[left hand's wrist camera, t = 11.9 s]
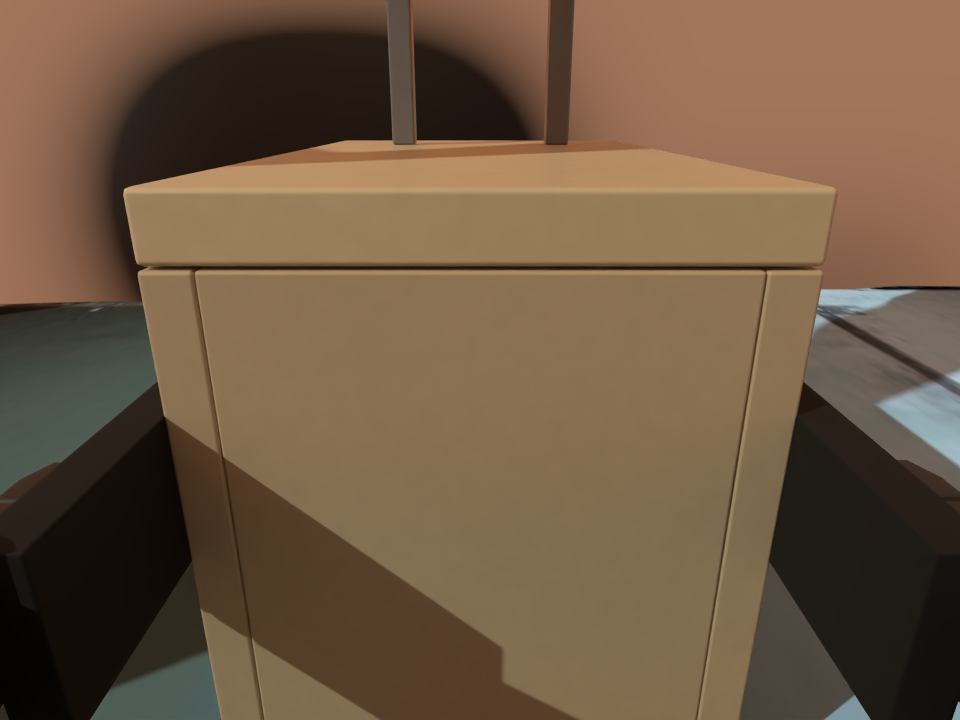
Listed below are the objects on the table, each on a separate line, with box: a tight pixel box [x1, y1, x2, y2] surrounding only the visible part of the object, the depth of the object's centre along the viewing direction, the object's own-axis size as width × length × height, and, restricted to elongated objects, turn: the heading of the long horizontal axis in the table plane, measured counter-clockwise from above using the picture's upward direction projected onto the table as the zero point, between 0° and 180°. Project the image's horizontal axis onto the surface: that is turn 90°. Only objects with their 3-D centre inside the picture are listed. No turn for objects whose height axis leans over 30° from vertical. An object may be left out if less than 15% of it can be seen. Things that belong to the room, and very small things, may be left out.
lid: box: [123, 0, 838, 267], centre depth 15 cm, size 16×10×8 cm, turn 0°
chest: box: [138, 266, 823, 720], centre depth 18 cm, size 15×10×11 cm, turn 0°
